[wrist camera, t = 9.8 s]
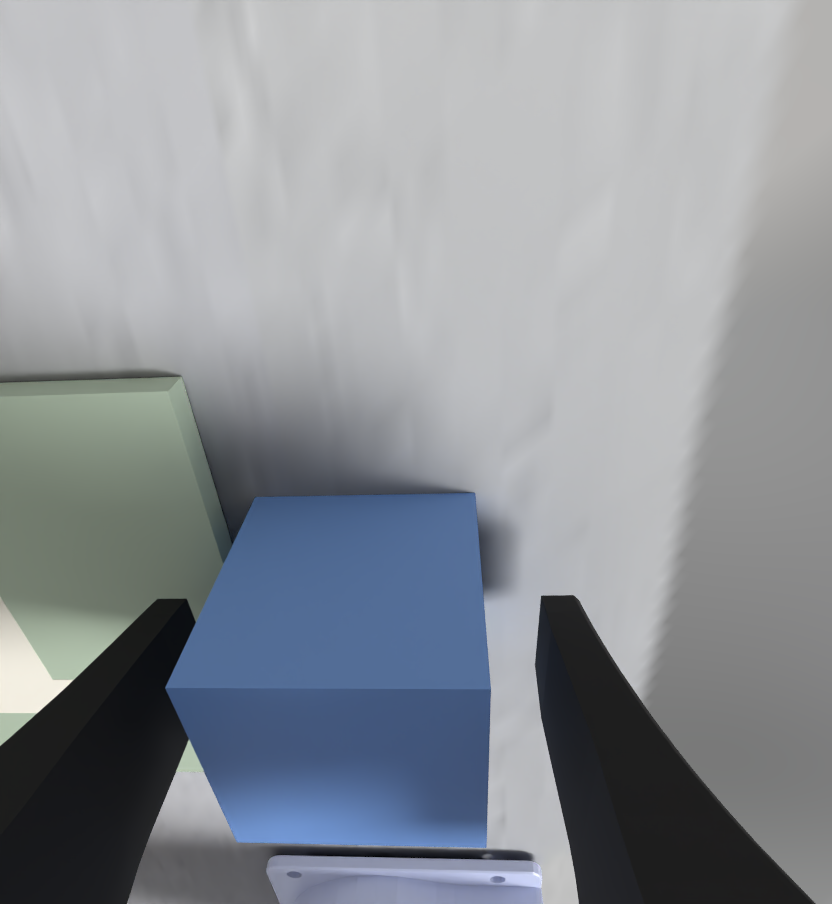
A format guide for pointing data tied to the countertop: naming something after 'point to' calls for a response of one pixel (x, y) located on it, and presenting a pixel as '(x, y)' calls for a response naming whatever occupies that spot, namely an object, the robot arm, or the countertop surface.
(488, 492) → the countertop surface
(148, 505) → the board
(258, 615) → the blue cube
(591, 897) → the robot arm
